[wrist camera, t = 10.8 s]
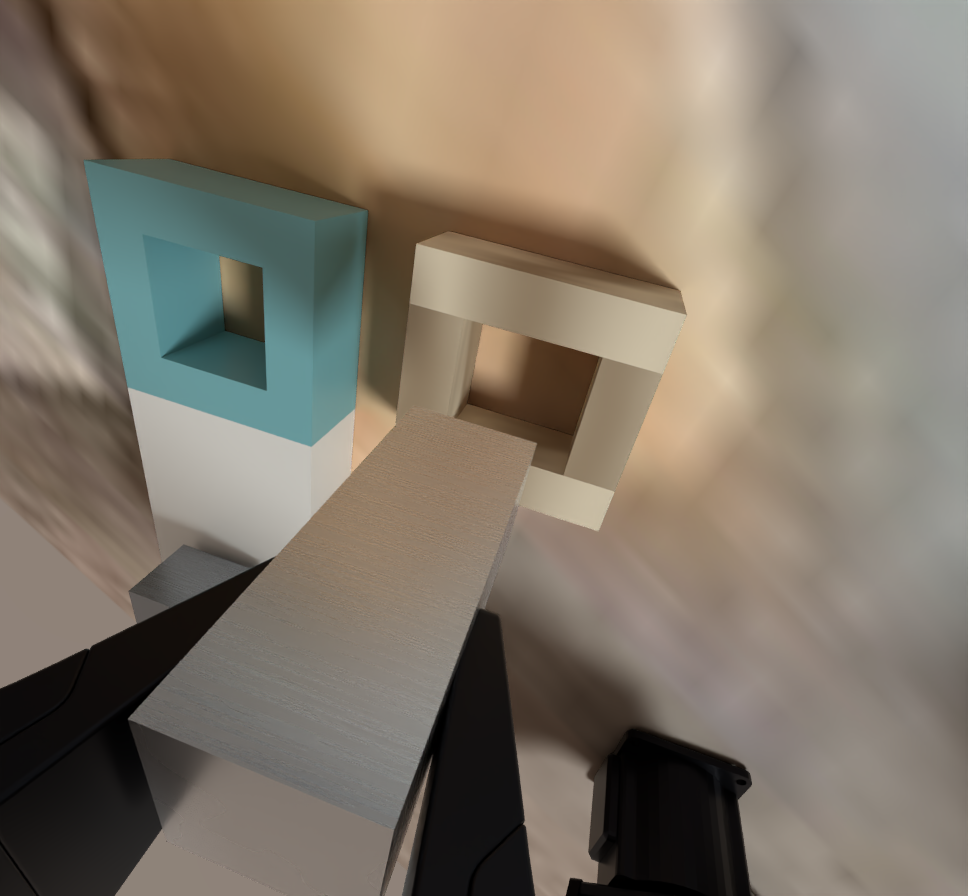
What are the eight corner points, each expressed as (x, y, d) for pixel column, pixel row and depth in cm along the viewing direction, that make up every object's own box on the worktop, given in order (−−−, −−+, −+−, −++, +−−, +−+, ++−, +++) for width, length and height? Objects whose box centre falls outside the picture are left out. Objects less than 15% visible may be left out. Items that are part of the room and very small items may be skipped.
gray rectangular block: (310, 519, 26) (215, 624, 21) (309, 594, 29) (226, 704, 24) (240, 495, 27) (128, 591, 21) (246, 571, 30) (149, 673, 24)
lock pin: (536, 443, 12) (393, 829, 5) (508, 540, 13) (371, 932, 7) (413, 405, 12) (128, 718, 5) (400, 504, 14) (166, 840, 7)
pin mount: (680, 290, 17) (686, 314, 14) (604, 486, 21) (598, 531, 19) (448, 230, 18) (416, 243, 15) (419, 428, 22) (390, 464, 20)
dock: (368, 210, 18) (314, 221, 15) (341, 620, 30) (307, 671, 27) (169, 158, 19) (83, 159, 16) (218, 575, 31) (173, 619, 28)
